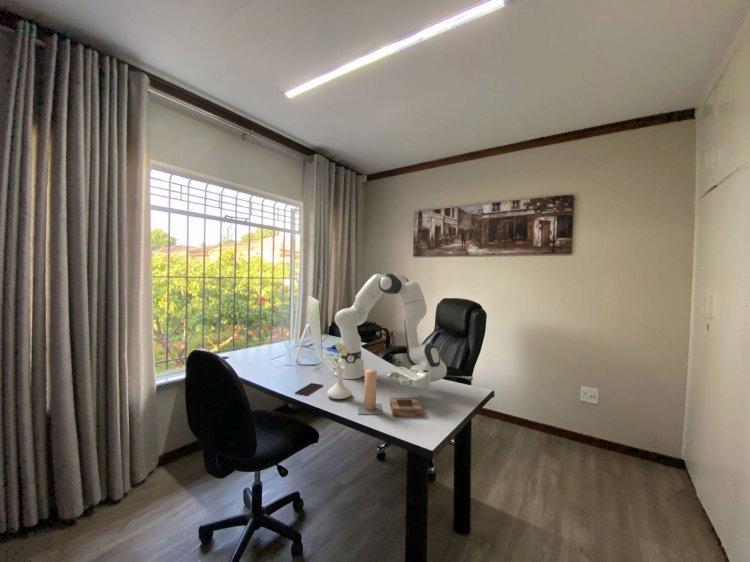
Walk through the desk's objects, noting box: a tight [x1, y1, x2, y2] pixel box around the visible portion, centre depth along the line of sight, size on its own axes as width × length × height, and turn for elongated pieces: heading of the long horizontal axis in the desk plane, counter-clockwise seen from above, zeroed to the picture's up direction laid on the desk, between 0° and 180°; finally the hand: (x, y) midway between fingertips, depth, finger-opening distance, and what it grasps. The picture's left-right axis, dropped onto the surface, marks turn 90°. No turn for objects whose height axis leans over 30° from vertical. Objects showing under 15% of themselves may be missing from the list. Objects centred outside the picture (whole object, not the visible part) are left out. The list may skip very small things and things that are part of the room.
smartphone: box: [294, 382, 324, 397], centre depth 149 cm, size 7×1×15 cm
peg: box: [363, 368, 377, 411], centre depth 128 cm, size 5×5×16 cm
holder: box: [389, 397, 423, 418], centre depth 128 cm, size 12×12×3 cm
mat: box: [357, 403, 384, 416], centre depth 128 cm, size 10×10×1 cm
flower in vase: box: [326, 341, 352, 400], centre depth 142 cm, size 13×11×25 cm
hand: (393, 379), depth 134 cm, fingers open, 8 cm apart
